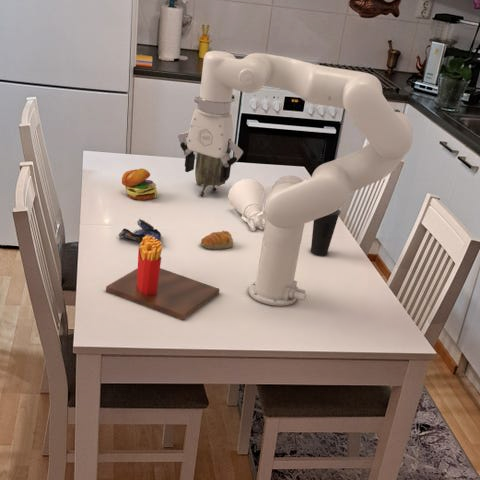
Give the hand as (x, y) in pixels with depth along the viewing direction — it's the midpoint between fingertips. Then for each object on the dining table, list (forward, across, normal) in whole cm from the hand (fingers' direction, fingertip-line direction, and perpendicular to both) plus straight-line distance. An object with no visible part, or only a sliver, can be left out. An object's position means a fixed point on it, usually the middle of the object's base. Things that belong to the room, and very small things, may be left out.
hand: (206, 175), depth 197 cm
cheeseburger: (+28, -44, +41) cm, 67 cm away
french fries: (+27, -5, -15) cm, 31 cm away
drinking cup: (+28, +19, +41) cm, 53 cm away
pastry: (+28, -6, +24) cm, 38 cm away
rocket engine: (+28, -9, +48) cm, 57 cm away
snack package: (+28, -24, +12) cm, 39 cm away
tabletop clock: (+28, -30, +62) cm, 75 cm away
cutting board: (+28, -2, -12) cm, 31 cm away
